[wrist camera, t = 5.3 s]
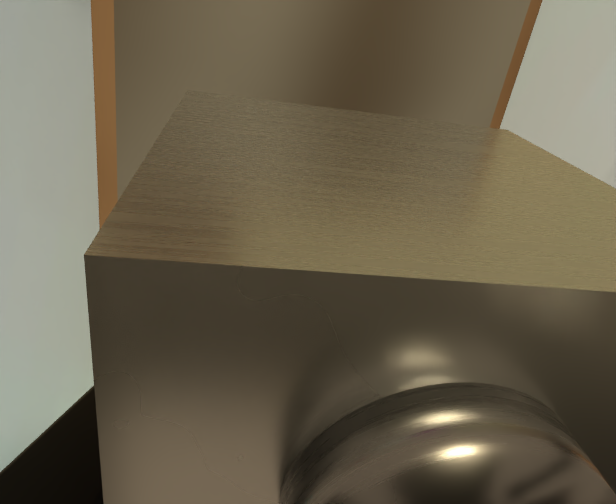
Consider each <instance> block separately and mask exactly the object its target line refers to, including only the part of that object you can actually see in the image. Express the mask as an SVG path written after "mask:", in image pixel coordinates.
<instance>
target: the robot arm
mask: <svg viewBox="0 0 616 504" xmlns="http://www.w3.org/2000/svg"><path fill="white" fill-rule="evenodd" d="M0 504H104V503H103V490H102V477H101V464H100V452H99V439H98V426H97V414H96V401H95V388H94V386H93V387H92V388H91V389H90V390H88V391H87V392H86V393H85V394H84V395H83V396H82V397H81V398H80V399H79V400H78V401H77V402H76V403H74V404H73V405H72V406H71V407H70V408H69V409H68V410H67V411H66V412H65V413H64V414H63V415H62V416H60V417H59V418H58V419H57V420H56V421H55V422H54V423H53V424H52V425H51V426H50V427H49V428H48V429H46V430H45V431H44V432H43V433H42V434H41V435H40V436H39V437H38V438H37V439H36V440H35V441H34V442H32V443H31V444H30V445H29V446H28V447H27V448H26V449H25V450H24V451H23V452H22V453H21V454H20V455H18V456H17V457H16V458H15V459H14V460H13V461H12V462H11V463H10V464H9V465H8V466H7V467H6V468H4V469H3V470H2V471H1V472H0Z"/></svg>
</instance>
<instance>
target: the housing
mask: <svg viewBox="0 0 616 504" xmlns="http://www.w3.org/2000/svg"><path fill="white" fill-rule="evenodd" d="M84 261H85V274H86V286H87V299H88V312H89V324H90V337H91V350H92V363H93V375H94V388H95V401H96V414H97V426H98V439H99V452H100V464H101V477H102V490H103V503H104V504H616V188H614V187H612V186H610V185H608V184H607V183H605V182H603V181H601V180H599V179H597V178H595V177H594V176H592V175H590V174H588V173H586V172H584V171H582V170H581V169H579V168H577V167H575V166H573V165H571V164H570V163H568V162H566V161H564V160H562V159H560V158H558V157H557V156H555V155H553V154H551V153H549V152H547V151H545V150H544V149H542V148H540V147H538V146H536V145H534V144H532V143H531V142H529V141H527V140H525V139H523V138H521V137H519V136H518V135H516V134H514V133H512V132H510V131H508V130H505V129H497V128H489V127H481V126H473V125H464V124H456V123H448V122H440V121H432V120H424V119H416V118H408V117H400V116H392V115H384V114H376V113H368V112H360V111H352V110H344V109H336V108H328V107H320V106H312V105H304V104H296V103H288V102H280V101H272V100H264V99H256V98H248V97H240V96H231V95H223V94H215V93H207V92H199V91H191V90H187V92H186V93H185V95H184V96H183V98H182V100H181V101H180V103H179V104H178V106H177V108H176V109H175V111H174V112H173V114H172V116H171V117H170V119H169V120H168V122H167V124H166V125H165V127H164V128H163V130H162V131H161V133H160V135H159V136H158V138H157V139H156V141H155V143H154V144H153V146H152V147H151V149H150V151H149V152H148V154H147V155H146V157H145V159H144V160H143V162H142V163H141V165H140V167H139V168H138V170H137V171H136V173H135V174H134V176H133V178H132V179H131V181H130V182H129V184H128V186H127V187H126V189H125V190H124V192H123V194H122V195H121V197H120V198H119V200H118V202H117V203H116V205H115V206H114V208H113V210H112V211H111V213H110V214H109V216H108V218H107V219H106V221H105V222H104V224H103V225H102V227H101V229H100V230H99V232H98V233H97V235H96V237H95V238H94V240H93V241H92V243H91V245H90V246H89V248H88V249H87V251H86V253H85V254H84Z"/></svg>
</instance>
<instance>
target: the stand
mask: <svg viewBox="0 0 616 504" xmlns="http://www.w3.org/2000/svg"><path fill="white" fill-rule="evenodd" d="M541 3H542V0H91V16H92V42H93V68H94V94H95V120H96V146H97V172H98V198H99V224H100V229H101V227H102V225H103V224H104V222H105V221H106V219H107V218H108V216H109V214H110V213H111V211H112V210H113V208H114V206H115V205H116V203H117V202H118V200H119V198H120V197H121V195H122V194H123V192H124V190H125V189H126V187H127V186H128V184H129V182H130V181H131V179H132V178H133V176H134V174H135V173H136V171H137V170H138V168H139V167H140V165H141V163H142V162H143V160H144V159H145V157H146V155H147V154H148V152H149V151H150V149H151V147H152V146H153V144H154V143H155V141H156V139H157V138H158V136H159V135H160V133H161V131H162V130H163V128H164V127H165V125H166V124H167V122H168V120H169V119H170V117H171V116H172V114H173V112H174V111H175V109H176V108H177V106H178V104H179V103H180V101H181V100H182V98H183V96H184V95H185V93H186V92H187V90H191V91H199V92H207V93H215V94H223V95H231V96H240V97H248V98H256V99H264V100H272V101H280V102H288V103H296V104H304V105H312V106H320V107H328V108H336V109H344V110H352V111H360V112H368V113H376V114H384V115H392V116H400V117H408V118H416V119H424V120H432V121H440V122H448V123H456V124H464V125H473V126H481V127H489V128H497V129H499V128H500V125H501V122H502V119H503V116H504V113H505V110H506V107H507V104H508V101H509V98H510V95H511V92H512V89H513V86H514V83H515V80H516V77H517V74H518V71H519V68H520V65H521V62H522V59H523V57H524V54H525V51H526V48H527V45H528V42H529V39H530V36H531V33H532V30H533V27H534V24H535V21H536V18H537V15H538V12H539V9H540V6H541Z"/></svg>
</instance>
